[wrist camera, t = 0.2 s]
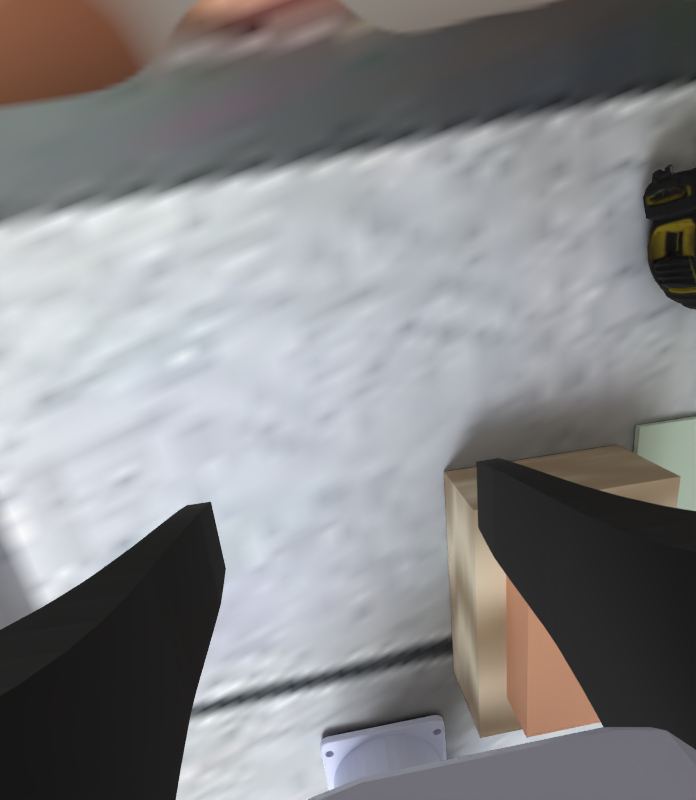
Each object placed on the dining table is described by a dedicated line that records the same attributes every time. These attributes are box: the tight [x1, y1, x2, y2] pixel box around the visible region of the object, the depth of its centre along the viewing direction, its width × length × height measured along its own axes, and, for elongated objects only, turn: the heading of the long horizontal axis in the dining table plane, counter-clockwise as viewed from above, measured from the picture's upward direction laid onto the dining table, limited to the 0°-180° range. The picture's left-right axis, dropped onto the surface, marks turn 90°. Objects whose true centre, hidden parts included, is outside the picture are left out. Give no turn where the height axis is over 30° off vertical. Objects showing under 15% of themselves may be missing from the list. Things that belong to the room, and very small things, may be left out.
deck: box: [444, 445, 681, 738], centre depth 23 cm, size 14×10×4 cm
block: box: [506, 575, 601, 737], centre depth 20 cm, size 9×6×2 cm, turn 6°
